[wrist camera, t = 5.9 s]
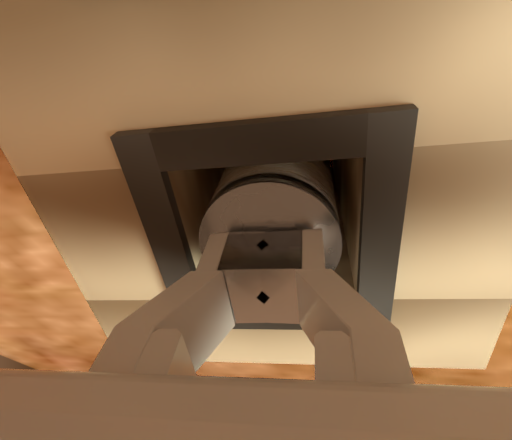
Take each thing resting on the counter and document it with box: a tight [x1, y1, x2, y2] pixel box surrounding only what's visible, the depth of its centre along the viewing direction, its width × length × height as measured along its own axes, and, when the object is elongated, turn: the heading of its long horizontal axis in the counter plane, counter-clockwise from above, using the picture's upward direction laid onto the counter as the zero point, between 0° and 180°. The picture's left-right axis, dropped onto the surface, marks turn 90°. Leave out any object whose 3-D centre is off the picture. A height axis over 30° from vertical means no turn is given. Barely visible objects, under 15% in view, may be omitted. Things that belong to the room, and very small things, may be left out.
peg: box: [199, 160, 342, 271], centre depth 14 cm, size 4×4×10 cm
